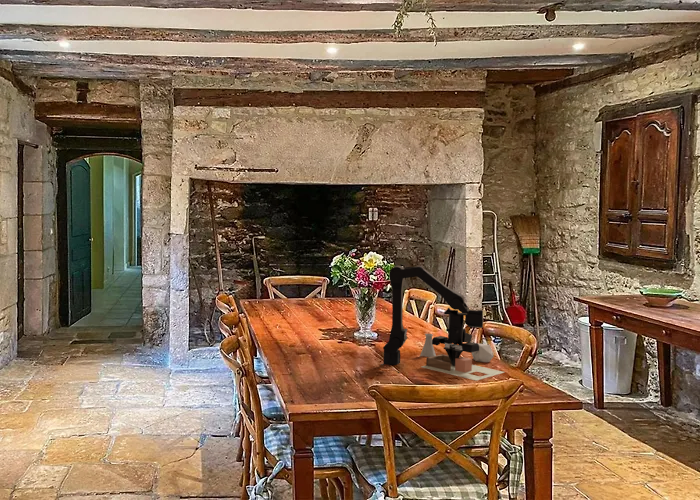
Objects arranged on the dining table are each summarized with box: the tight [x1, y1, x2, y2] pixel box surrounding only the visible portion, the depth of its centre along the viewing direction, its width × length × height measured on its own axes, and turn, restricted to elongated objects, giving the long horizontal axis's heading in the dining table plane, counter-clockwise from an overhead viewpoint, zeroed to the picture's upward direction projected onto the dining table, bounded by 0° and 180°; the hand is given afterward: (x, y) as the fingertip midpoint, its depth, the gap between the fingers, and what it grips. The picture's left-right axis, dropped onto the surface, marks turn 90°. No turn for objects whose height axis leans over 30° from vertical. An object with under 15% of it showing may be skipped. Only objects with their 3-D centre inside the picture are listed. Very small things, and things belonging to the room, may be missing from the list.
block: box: [455, 356, 473, 372], centre depth 267 cm, size 4×4×4 cm
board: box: [421, 364, 505, 382], centre depth 269 cm, size 19×26×1 cm
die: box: [471, 343, 495, 363], centre depth 285 cm, size 8×9×10 cm
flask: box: [419, 333, 437, 358], centre depth 292 cm, size 7×7×10 cm
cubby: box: [425, 353, 452, 371], centre depth 273 cm, size 10×11×3 cm
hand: (454, 365), depth 270 cm, fingers closed
